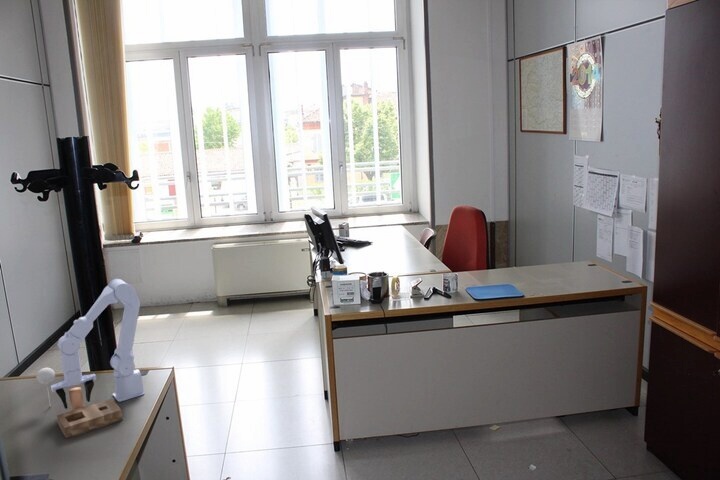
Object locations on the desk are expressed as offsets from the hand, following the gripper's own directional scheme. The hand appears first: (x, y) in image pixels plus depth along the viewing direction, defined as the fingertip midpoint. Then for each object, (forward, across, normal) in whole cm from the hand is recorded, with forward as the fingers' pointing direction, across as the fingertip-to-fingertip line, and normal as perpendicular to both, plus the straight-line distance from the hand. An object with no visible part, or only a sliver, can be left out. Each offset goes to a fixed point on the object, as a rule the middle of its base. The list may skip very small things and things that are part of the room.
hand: (77, 404), depth 214 cm
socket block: (+2, -1, +13) cm, 13 cm away
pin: (+2, 0, 0) cm, 2 cm away
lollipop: (+3, +7, -10) cm, 12 cm away
